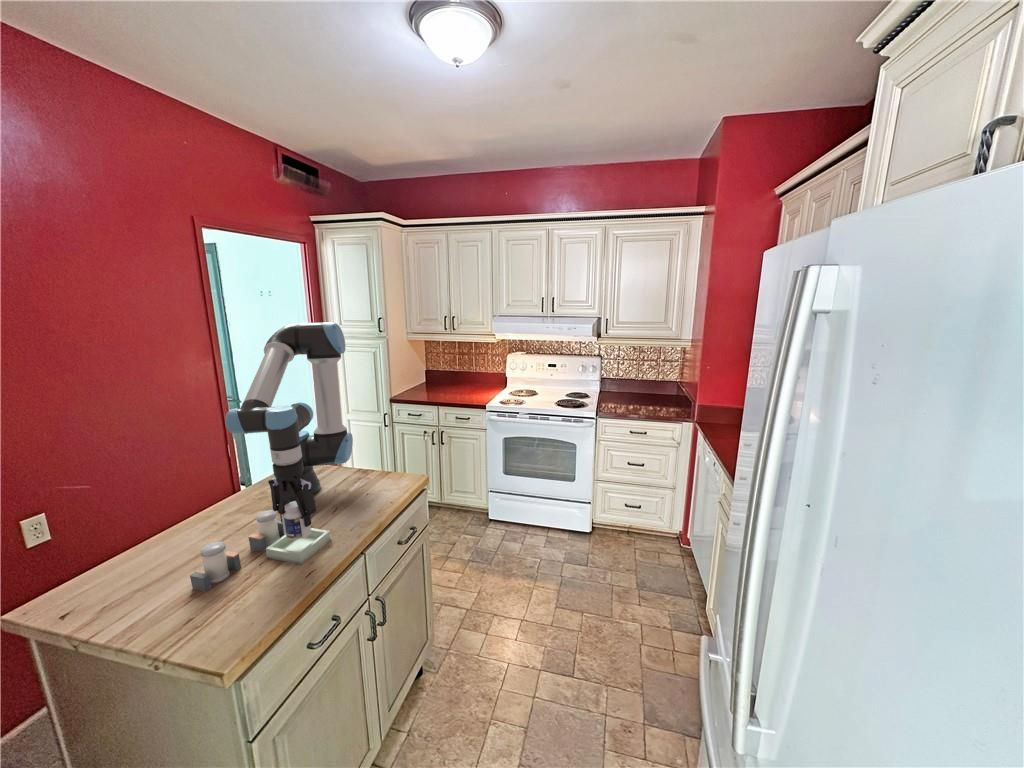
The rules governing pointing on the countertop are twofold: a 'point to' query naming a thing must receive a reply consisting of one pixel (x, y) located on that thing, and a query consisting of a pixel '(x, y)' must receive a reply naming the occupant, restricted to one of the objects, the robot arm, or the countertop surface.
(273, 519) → the fuse
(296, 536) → the pill bottle
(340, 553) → the countertop surface
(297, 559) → the tray
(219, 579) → the white rounded cylinder
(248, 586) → the countertop surface
